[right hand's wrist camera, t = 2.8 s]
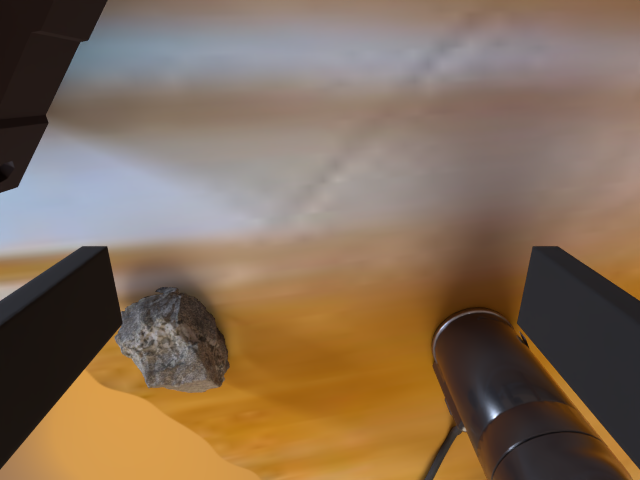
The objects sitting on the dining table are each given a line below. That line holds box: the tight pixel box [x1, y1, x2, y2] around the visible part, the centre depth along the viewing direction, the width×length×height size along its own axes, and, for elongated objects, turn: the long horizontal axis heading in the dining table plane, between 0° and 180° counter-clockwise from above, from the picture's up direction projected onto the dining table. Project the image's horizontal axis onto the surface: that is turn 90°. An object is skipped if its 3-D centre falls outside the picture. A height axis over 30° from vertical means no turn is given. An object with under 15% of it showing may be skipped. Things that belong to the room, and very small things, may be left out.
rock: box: [115, 287, 229, 393], centre depth 42 cm, size 13×9×6 cm, turn 45°
